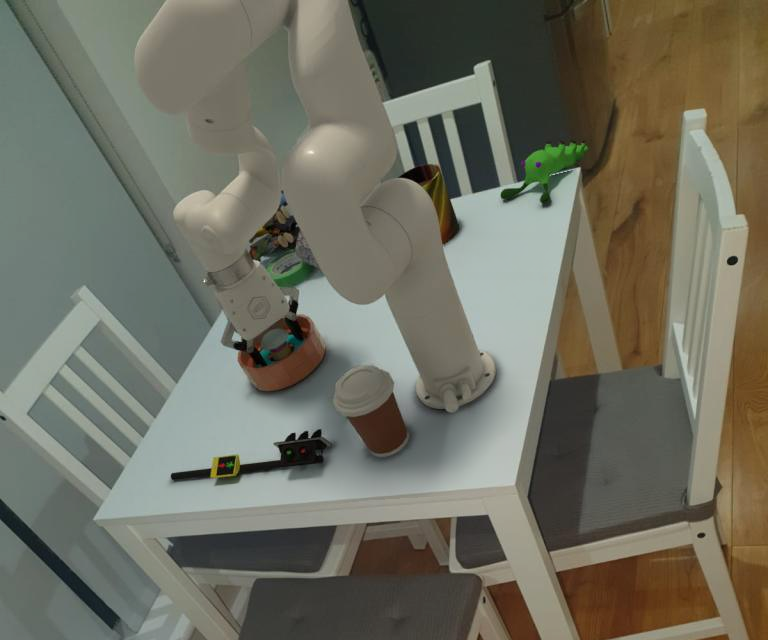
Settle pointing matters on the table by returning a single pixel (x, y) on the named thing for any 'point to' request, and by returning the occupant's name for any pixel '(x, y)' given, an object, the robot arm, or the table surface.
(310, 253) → the stone
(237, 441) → the table surface
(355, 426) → the cocoa
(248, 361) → the bowl
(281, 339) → the ornament
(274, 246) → the doll family
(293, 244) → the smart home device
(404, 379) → the table surface
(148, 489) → the table surface
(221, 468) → the miniature traffic light
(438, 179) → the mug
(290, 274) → the tape roll
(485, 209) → the table surface
